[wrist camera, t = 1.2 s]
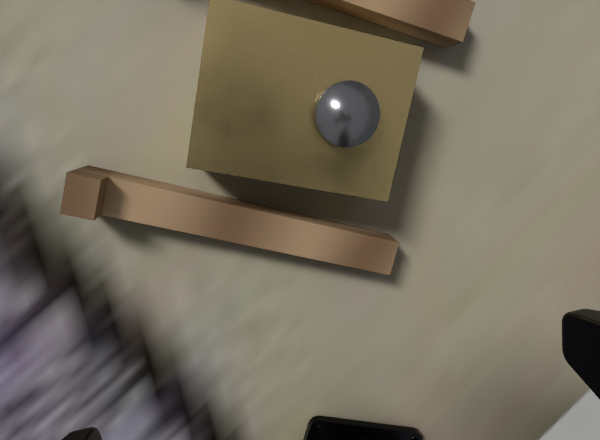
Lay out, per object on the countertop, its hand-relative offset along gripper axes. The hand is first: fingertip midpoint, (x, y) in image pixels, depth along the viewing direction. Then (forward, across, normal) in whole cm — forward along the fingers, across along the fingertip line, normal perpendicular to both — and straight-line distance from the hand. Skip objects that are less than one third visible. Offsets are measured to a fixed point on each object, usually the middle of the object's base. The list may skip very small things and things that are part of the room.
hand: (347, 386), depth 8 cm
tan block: (+13, -2, -5) cm, 14 cm away
